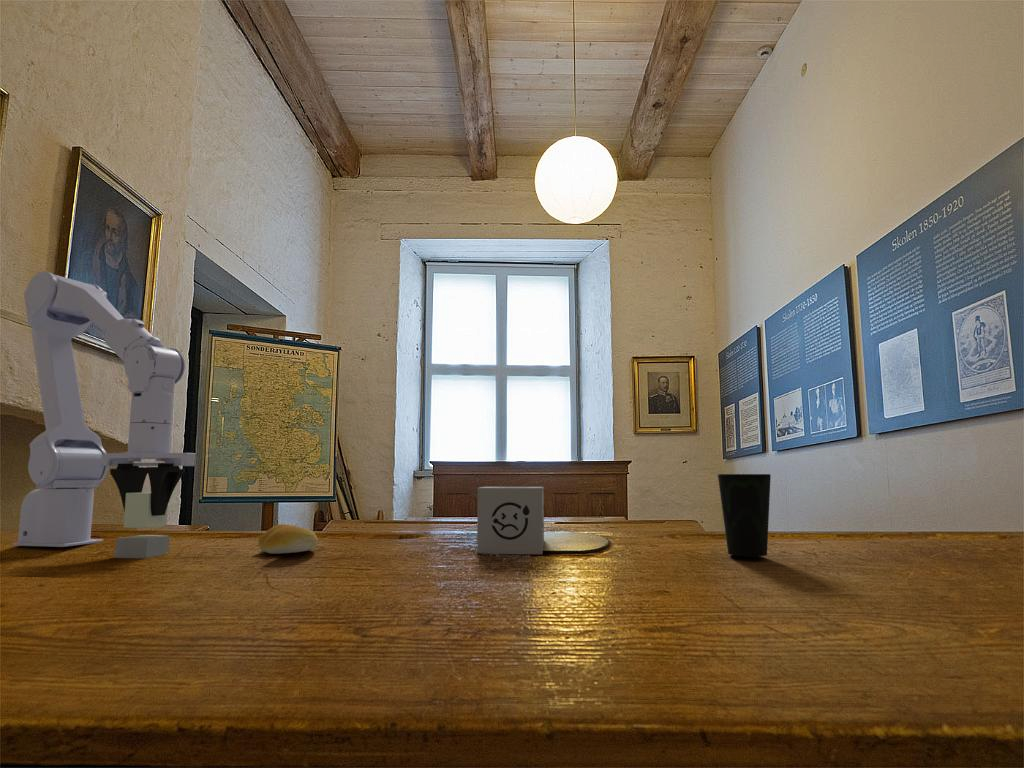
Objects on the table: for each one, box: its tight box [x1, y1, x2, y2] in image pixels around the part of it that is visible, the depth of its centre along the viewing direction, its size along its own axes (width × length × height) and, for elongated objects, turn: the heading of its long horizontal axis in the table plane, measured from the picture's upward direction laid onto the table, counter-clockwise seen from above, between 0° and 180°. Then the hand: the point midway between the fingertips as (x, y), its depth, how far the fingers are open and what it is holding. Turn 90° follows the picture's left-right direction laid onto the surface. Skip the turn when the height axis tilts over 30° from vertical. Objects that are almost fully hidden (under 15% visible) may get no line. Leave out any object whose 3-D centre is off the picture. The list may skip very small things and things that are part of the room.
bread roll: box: [257, 523, 319, 555], centre depth 103 cm, size 8×9×4 cm
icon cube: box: [476, 486, 545, 555], centre depth 109 cm, size 10×10×10 cm
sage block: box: [123, 491, 169, 529], centre depth 102 cm, size 4×4×5 cm
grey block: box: [114, 534, 170, 559], centre depth 101 cm, size 5×5×3 cm
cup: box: [717, 473, 772, 557], centre depth 104 cm, size 8×8×12 cm
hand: (144, 515), depth 101 cm, fingers closed on sage block, 4 cm apart
